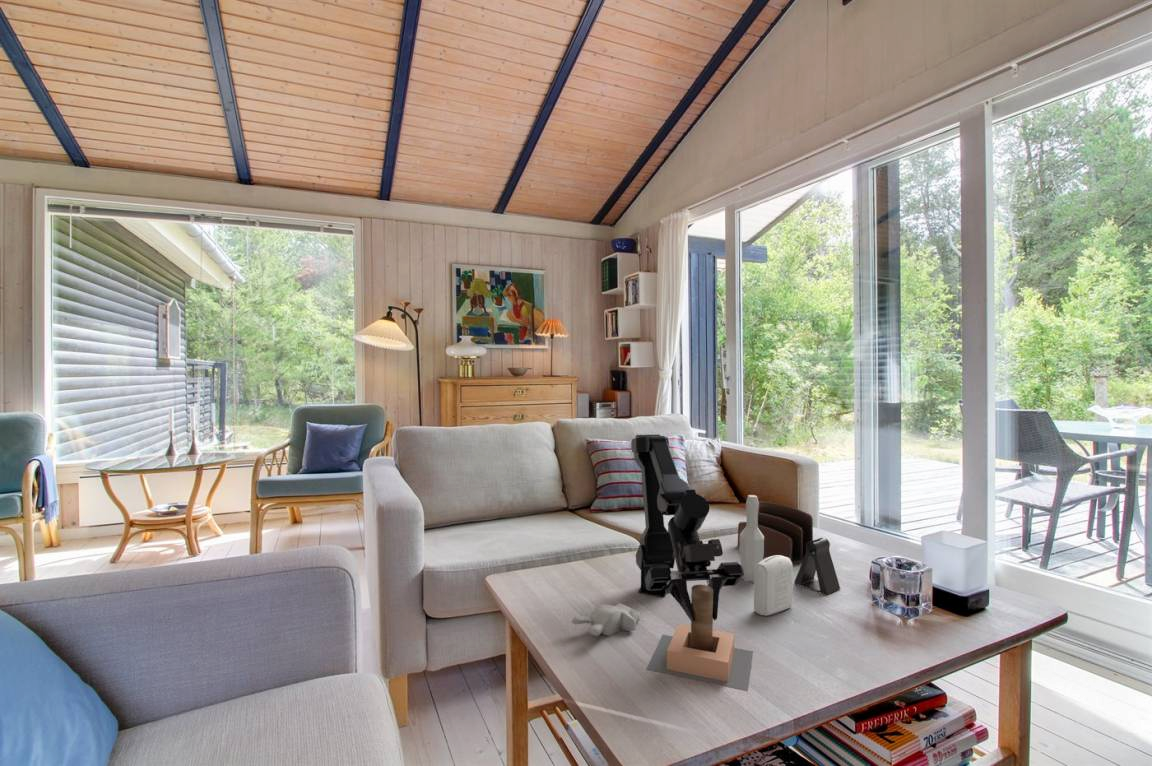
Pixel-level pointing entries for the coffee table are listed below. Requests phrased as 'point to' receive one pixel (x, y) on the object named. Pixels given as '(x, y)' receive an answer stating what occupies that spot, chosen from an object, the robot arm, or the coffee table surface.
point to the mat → (736, 677)
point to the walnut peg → (702, 618)
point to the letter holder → (783, 530)
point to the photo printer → (773, 585)
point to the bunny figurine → (609, 619)
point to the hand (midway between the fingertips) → (704, 620)
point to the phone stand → (818, 568)
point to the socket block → (701, 655)
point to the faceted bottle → (751, 540)
